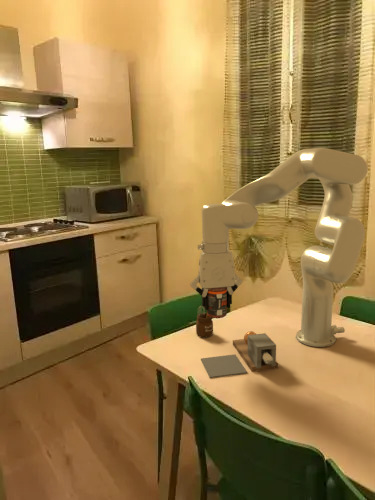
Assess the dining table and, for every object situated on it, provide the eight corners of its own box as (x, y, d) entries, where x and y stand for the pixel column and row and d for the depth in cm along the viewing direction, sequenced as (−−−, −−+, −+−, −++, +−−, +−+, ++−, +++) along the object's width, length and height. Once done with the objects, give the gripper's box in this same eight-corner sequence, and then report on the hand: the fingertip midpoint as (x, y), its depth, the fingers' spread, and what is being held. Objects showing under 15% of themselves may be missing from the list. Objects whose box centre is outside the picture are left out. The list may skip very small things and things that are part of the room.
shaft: (243, 345, 124) (243, 332, 123) (256, 343, 125) (257, 330, 124) (261, 368, 110) (262, 354, 109) (276, 367, 110) (277, 352, 110)
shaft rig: (232, 344, 130) (232, 321, 128) (255, 341, 131) (255, 319, 130) (253, 373, 112) (253, 347, 110) (279, 370, 113) (280, 344, 112)
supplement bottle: (225, 319, 113) (225, 281, 110) (205, 318, 114) (204, 281, 112) (228, 312, 119) (227, 275, 116) (208, 311, 120) (207, 275, 117)
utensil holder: (192, 335, 137) (192, 303, 135) (202, 329, 142) (201, 297, 140) (207, 339, 134) (206, 306, 132) (216, 332, 139) (216, 300, 137)
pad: (235, 355, 123) (235, 354, 122) (247, 373, 112) (247, 372, 112) (200, 359, 120) (200, 358, 120) (209, 378, 110) (209, 376, 110)
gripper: (188, 252, 107) (190, 315, 111) (249, 248, 110) (249, 309, 114) (183, 247, 114) (185, 305, 118) (241, 243, 117) (241, 300, 121)
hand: (216, 307), depth 116 cm, fingers closed on supplement bottle, 6 cm apart
